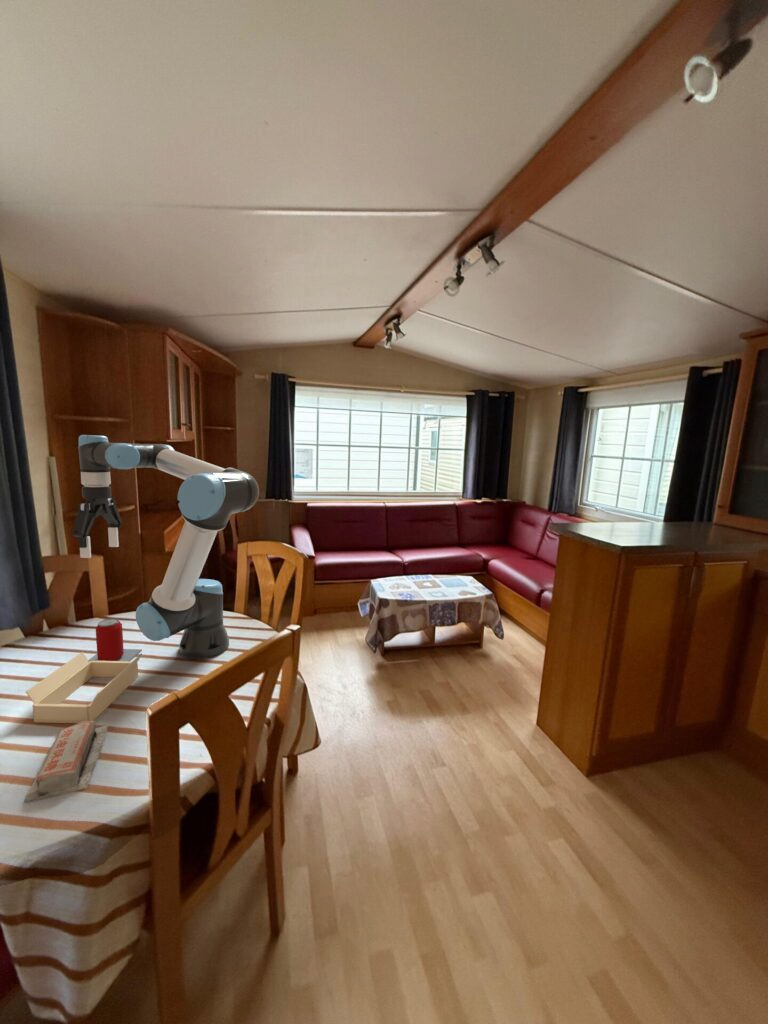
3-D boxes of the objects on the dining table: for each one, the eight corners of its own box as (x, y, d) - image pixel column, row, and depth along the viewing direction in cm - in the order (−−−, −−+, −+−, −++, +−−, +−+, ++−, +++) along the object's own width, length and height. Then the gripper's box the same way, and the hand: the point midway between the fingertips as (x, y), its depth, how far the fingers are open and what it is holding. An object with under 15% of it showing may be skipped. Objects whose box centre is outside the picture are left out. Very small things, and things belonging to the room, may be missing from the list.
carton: (145, 676, 118) (144, 651, 117) (98, 724, 98) (96, 695, 97) (85, 674, 118) (83, 650, 116) (25, 722, 97) (22, 693, 96)
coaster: (141, 650, 132) (141, 649, 132) (119, 670, 120) (119, 669, 120) (103, 649, 132) (103, 648, 132) (77, 669, 120) (77, 668, 120)
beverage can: (121, 650, 131) (118, 615, 129) (126, 659, 126) (124, 622, 124) (95, 657, 126) (93, 621, 124) (100, 666, 121) (97, 628, 119)
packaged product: (86, 768, 79) (22, 783, 75) (88, 790, 80) (24, 806, 76) (107, 712, 96) (54, 722, 92) (108, 731, 96) (56, 741, 92)
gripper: (109, 481, 139) (113, 542, 142) (52, 489, 114) (58, 562, 117) (131, 482, 139) (135, 543, 142) (80, 490, 114) (85, 563, 118)
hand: (100, 552), depth 130 cm, fingers open, 13 cm apart
